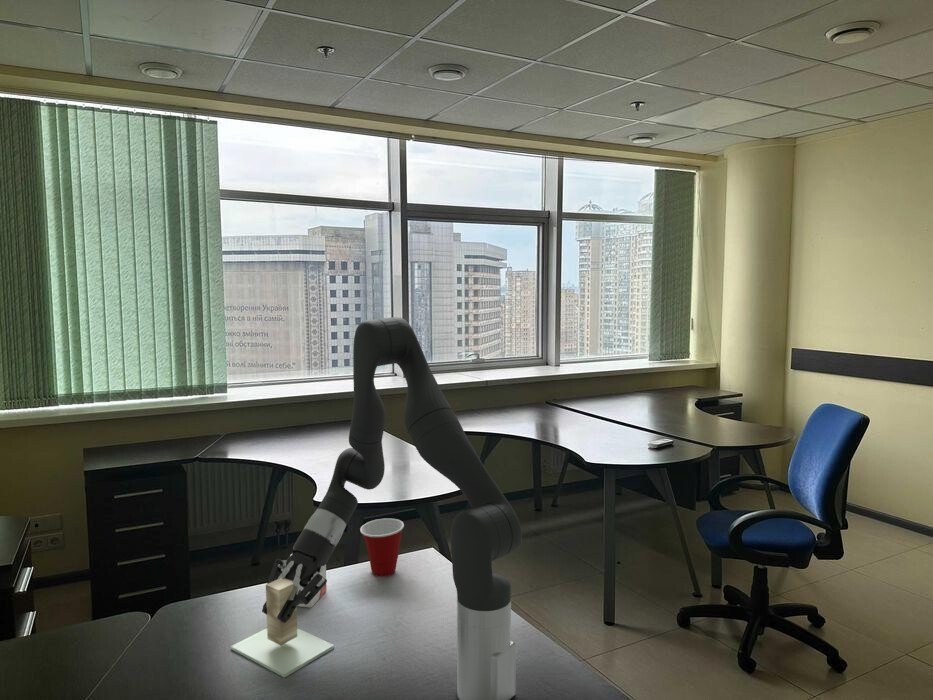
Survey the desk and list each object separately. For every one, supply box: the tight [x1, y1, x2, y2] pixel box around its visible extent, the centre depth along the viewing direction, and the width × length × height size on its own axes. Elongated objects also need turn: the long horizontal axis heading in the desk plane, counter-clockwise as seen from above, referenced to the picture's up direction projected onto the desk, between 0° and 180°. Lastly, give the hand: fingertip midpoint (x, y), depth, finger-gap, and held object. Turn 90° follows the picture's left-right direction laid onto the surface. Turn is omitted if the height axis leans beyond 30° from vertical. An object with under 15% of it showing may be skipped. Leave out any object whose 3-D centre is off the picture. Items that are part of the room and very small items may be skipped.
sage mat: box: [230, 627, 335, 678], centre depth 127 cm, size 16×12×1 cm
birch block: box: [265, 578, 298, 645], centre depth 126 cm, size 4×4×11 cm
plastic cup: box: [359, 518, 405, 578], centre depth 161 cm, size 11×11×12 cm
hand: (273, 617), depth 125 cm, fingers closed on birch block, 4 cm apart
